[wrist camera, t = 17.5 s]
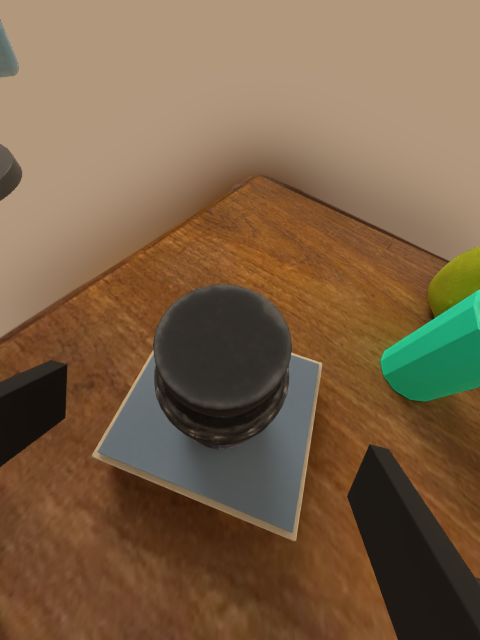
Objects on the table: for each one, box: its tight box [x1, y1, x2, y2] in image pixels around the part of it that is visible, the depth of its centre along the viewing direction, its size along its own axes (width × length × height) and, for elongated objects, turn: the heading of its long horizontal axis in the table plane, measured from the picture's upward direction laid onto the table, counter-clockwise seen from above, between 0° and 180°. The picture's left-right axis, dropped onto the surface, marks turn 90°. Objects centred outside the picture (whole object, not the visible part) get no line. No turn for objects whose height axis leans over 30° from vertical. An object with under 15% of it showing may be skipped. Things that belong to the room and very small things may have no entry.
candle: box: [380, 290, 480, 402], centre depth 19 cm, size 6×6×12 cm
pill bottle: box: [153, 285, 292, 450], centre depth 12 cm, size 6×6×11 cm
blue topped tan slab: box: [92, 351, 322, 541], centre depth 19 cm, size 14×12×4 cm
